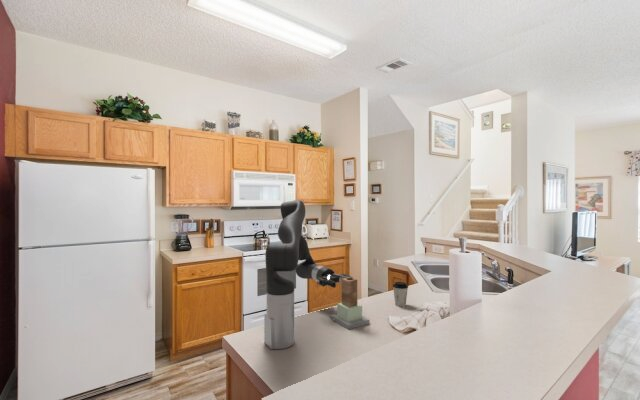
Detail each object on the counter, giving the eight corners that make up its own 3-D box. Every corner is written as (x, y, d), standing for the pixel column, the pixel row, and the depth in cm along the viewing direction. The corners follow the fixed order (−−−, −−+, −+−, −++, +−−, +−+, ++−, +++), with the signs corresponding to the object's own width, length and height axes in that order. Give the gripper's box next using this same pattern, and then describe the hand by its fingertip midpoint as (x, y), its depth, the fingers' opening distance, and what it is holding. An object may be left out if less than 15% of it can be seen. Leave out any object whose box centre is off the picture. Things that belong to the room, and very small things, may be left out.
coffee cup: (411, 306, 137) (411, 284, 137) (398, 308, 135) (398, 285, 135) (402, 301, 144) (402, 280, 144) (389, 303, 141) (389, 282, 141)
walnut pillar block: (348, 307, 118) (348, 279, 118) (341, 303, 122) (341, 276, 122) (357, 305, 120) (357, 277, 120) (350, 302, 124) (350, 275, 124)
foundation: (348, 329, 113) (348, 311, 113) (330, 318, 123) (330, 302, 123) (369, 323, 118) (369, 306, 118) (350, 313, 128) (350, 298, 129)
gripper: (309, 268, 135) (329, 276, 121) (336, 265, 142) (357, 272, 128) (309, 285, 135) (329, 295, 121) (336, 281, 142) (357, 290, 128)
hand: (343, 283), depth 124 cm, fingers open, 8 cm apart
